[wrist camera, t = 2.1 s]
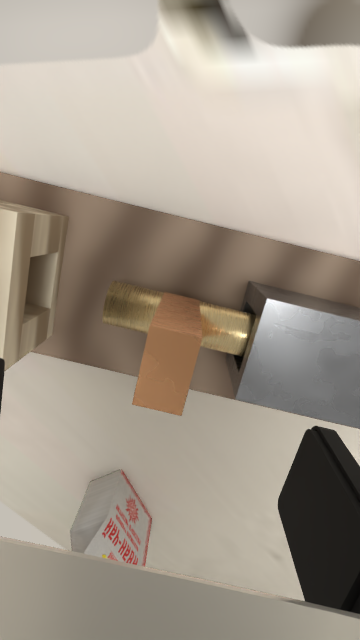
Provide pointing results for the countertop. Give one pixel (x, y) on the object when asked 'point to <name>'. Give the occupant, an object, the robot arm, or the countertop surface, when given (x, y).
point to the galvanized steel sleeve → (300, 355)
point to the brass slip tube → (173, 339)
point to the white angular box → (112, 521)
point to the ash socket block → (28, 277)
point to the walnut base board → (163, 274)
